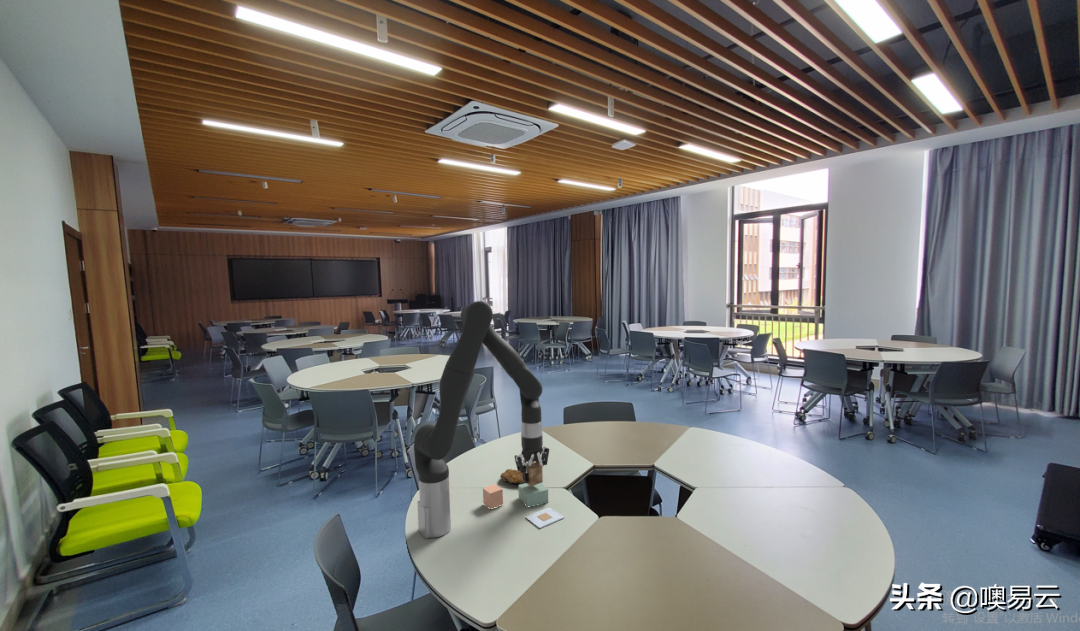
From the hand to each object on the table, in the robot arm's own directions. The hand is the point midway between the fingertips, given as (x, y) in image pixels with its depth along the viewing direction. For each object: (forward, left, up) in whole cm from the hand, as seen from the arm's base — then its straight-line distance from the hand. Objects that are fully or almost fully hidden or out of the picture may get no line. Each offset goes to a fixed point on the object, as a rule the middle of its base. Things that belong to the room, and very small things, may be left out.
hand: (532, 479), depth 155 cm
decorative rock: (+4, +16, -8) cm, 18 cm away
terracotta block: (-13, +6, -8) cm, 16 cm away
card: (-4, -12, -7) cm, 15 cm away
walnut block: (0, 0, -1) cm, 1 cm away
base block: (0, 0, -8) cm, 8 cm away
